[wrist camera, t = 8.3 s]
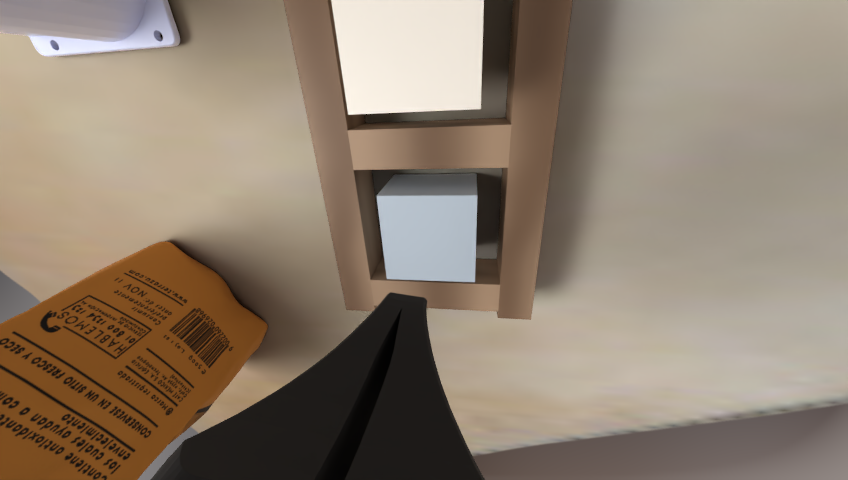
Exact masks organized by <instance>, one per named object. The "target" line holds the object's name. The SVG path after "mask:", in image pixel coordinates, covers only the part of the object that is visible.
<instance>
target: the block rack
mask: <svg viewBox="0 0 848 480" xmlns="http://www.w3.org/2000/svg"><path fill="white" fill-rule="evenodd" d="M572 2H573V0H513V6H512V22H511V38H510V54H509V70H508V87H507V103H506V118H489V119H463V120H437V121H411V122H386V123H366V122H365V114H354V115H348V110H347V103H346V97H345V90H344V83H343V76H342V70H341V63H340V56H339V49H338V43H337V36H336V29H335V23H334V16H333V9H332V2H331V0H284V5H285V10H286V15H287V20H288V25H289V30H290V34H291V39H292V44H293V49H294V54H295V59H296V64H297V69H298V74H299V79H300V84H301V88H302V93H303V98H304V103H305V108H306V113H307V118H308V123H309V128H310V133H311V137H312V142H313V147H314V152H315V157H316V162H317V167H318V172H319V177H320V182H321V187H322V191H323V196H324V201H325V206H326V211H327V216H328V221H329V226H330V231H331V236H332V240H333V245H334V250H335V255H336V260H337V265H338V270H339V275H340V280H341V285H342V290H343V294H344V299H345V304H346V309H347V310H361V311H374V310H375V309H376V307H377V306H378V305H379V304H380V303H381V302H382V300H383V299H384V298H385V297H386V295H387V294H389V293H390V292H392V293H399V294H405V295H411V296H418V297H424V298H425V299H426V300H427V308H438V309H458V310H478V311H497V315H498V318H511V319H530V320H531V314H532V307H533V299H534V292H535V284H536V276H537V269H538V261H539V253H540V246H541V238H542V231H543V223H544V215H545V208H546V200H547V192H548V185H549V177H550V170H551V162H552V154H553V147H554V139H555V131H556V124H557V116H558V109H559V101H560V93H561V86H562V78H563V70H564V63H565V55H566V48H567V40H568V32H569V25H570V17H571V9H572ZM447 168H502V184H501V200H500V216H499V232H498V249H497V259H476V264H475V282H453V281H426V280H399V279H387V277H386V269H385V261H384V256H382V248H381V240H380V232H379V224H378V217H377V209H376V201H375V193H374V185H373V177H372V170H385V169H447Z"/></svg>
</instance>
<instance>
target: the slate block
mask: <svg viewBox="0 0 848 480" xmlns="http://www.w3.org/2000/svg"><path fill="white" fill-rule="evenodd" d="M377 204H378V212H379V220H380V228H381V236H382V244H383V253H384V261H385V269H386V277H387V279H399V280H426V281H453V282H475V264H476V227H477V174H402V175H393V177H392V178H391V179H390V180H389V181H388V183H387V184H386V185H385V186H384V187H383V189H382V190H381V191H380V192H379V193H378V195H377Z"/></svg>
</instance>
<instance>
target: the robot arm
mask: <svg viewBox="0 0 848 480" xmlns="http://www.w3.org/2000/svg"><path fill="white" fill-rule="evenodd" d="M0 33H5V34H15V35H25V36H29V37H30V39H31V41H32V43H33V45H34V47H35V48H36V50H37V51H38V52H39V53H40V54H42V55H43V56H49V57H56V56H68V55H79V54H91V53H103V52H115V51H127V50H139V49H151V48H162V47H174V46H178V44H179V43H180V36H179V33H178V30H177V27H176V24H175V21H174V18H173V15H172V12H171V9H170V6H169V3H168V0H0ZM160 33H161V34H162V36H163V40H162V39H161V37H160ZM426 309H427V300H426V299H425V298H424V297H418V296H411V295H405V294H399V293H392V292H390V293H389V294H387V295H386V297H385V298H384V299H383V300H382V302H381V303H380V304H379V305H378V306H377V307H376V309H375V310H374V311H373V312H372V313H371V314H370V315H369V316H368V317H367V318H366V319H365V320H364V321H363V322H362V323H361V324H360V325H359V326H358V328H357V329H356V330H354V331H353V332H352V333H351V334H350V335H349V336H348V337H347V338H346V339H345V340H344V341H343V342H341V343H340V344H339V345H338V346H337V347H336V348H335V349H334V350H332V351H331V352H330V353H329V354H328V355H326V356H325V357H324V358H323V359H321V360H320V361H319V362H317V363H316V364H315V365H313V366H312V367H311V368H309V369H308V370H307V371H305V372H304V373H302V374H301V375H300V376H298V377H297V378H295V379H294V380H292V381H291V382H290V383H288V384H287V385H285V386H283V387H282V388H280V389H279V390H277V391H276V392H274V393H272V394H271V395H269V396H267V397H266V398H264V399H262V400H261V401H259V402H257V403H255V404H254V405H252V406H250V407H249V408H247V409H245V410H244V411H242V412H240V413H238V414H236V415H235V416H233V417H231V418H229V419H227V420H225V421H223V422H221V423H219V424H217V425H215V426H213V427H211V428H209V429H207V430H205V431H203V432H201V433H199V434H197V435H195V436H193V437H191V438H189V439H187V440H185V441H184V442H183V443H182V444H181V445H180V446H179V448H177V450H176V451H175V452H174V453H173V454H172V455H171V456H170V457H169V458H168V459H167V460H166V462H165V463H164V464H163V465H162V466H161V468H160V469H159V470H158V471H157V473H156V474H155V475H154V476H153V478H152V479H151V480H485V479H484V478H483V476H482V474H481V472H480V470H479V468H478V466H477V465H476V463H475V461H474V459H473V457H472V455H471V453H470V451H469V449H468V447H467V445H466V443H465V440H464V438H463V436H462V434H461V431H460V429H459V427H458V425H457V422H456V420H455V418H454V416H453V413H452V411H451V409H450V406H449V403H448V401H447V398H446V395H445V393H444V390H443V387H442V384H441V381H440V378H439V375H438V371H437V368H436V364H435V361H434V357H433V353H432V349H431V344H430V339H429V333H428V327H427V316H426Z"/></svg>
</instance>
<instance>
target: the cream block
mask: <svg viewBox="0 0 848 480" xmlns="http://www.w3.org/2000/svg"><path fill="white" fill-rule="evenodd" d="M331 2H332V9H333V16H334V23H335V29H336V36H337V43H338V49H339V56H340V63H341V70H342V76H343V83H344V90H345V97H346V103H347V110H348V115H354V114H377V113H400V112H423V111H447V110H470V109H481V85H482V50H483V14H484V0H331Z"/></svg>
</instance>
